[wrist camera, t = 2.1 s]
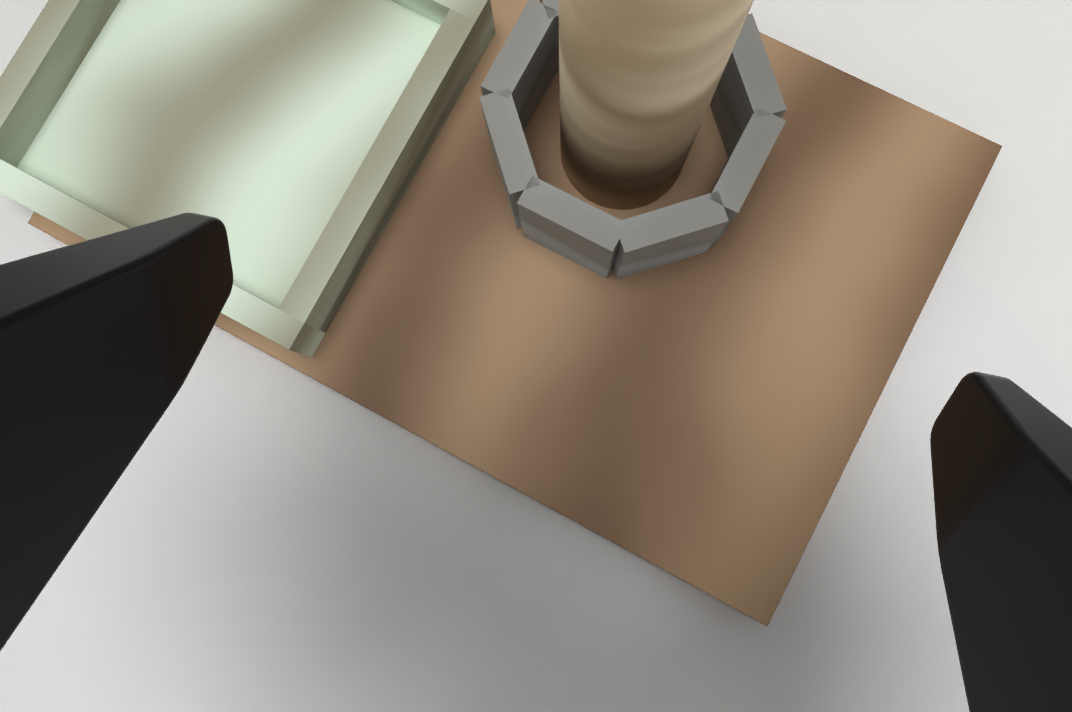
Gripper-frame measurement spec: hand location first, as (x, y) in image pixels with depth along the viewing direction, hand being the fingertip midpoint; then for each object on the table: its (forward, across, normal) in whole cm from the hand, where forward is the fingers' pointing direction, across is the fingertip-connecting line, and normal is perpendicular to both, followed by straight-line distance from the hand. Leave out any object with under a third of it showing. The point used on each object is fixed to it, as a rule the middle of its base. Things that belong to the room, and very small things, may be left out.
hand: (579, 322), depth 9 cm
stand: (+13, +4, +5) cm, 15 cm away
